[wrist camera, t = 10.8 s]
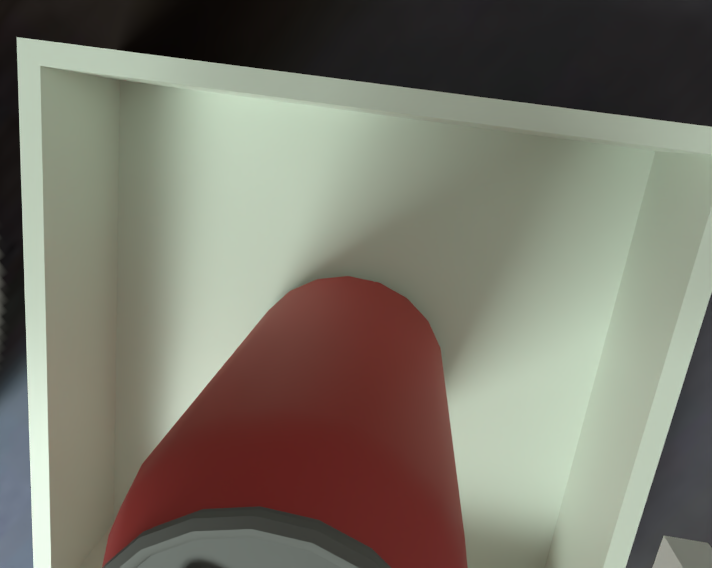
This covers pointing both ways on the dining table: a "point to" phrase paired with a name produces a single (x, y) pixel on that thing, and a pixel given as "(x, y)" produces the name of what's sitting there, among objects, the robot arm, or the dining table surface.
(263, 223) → the bin
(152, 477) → the beer can
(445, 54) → the dining table surface
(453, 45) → the dining table surface
